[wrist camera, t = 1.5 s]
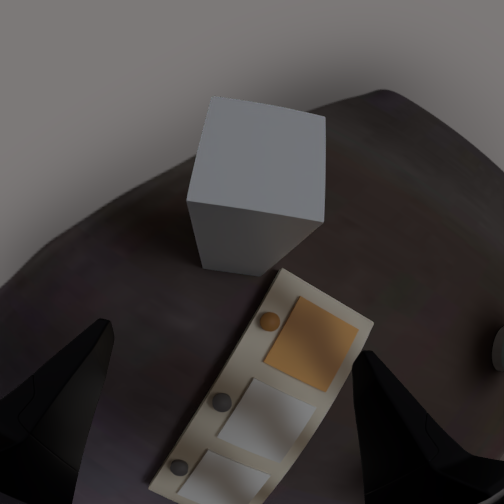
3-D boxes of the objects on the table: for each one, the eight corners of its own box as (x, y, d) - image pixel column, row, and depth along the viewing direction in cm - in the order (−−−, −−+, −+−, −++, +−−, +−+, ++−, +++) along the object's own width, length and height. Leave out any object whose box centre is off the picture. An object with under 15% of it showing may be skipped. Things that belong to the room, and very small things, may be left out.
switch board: (241, 518, 18) (242, 529, 16) (150, 482, 18) (146, 492, 16) (367, 322, 23) (377, 322, 22) (278, 270, 23) (284, 266, 22)
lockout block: (260, 276, 23) (323, 222, 10) (202, 268, 23) (186, 200, 9) (266, 222, 24) (325, 117, 10) (211, 214, 24) (212, 96, 10)
